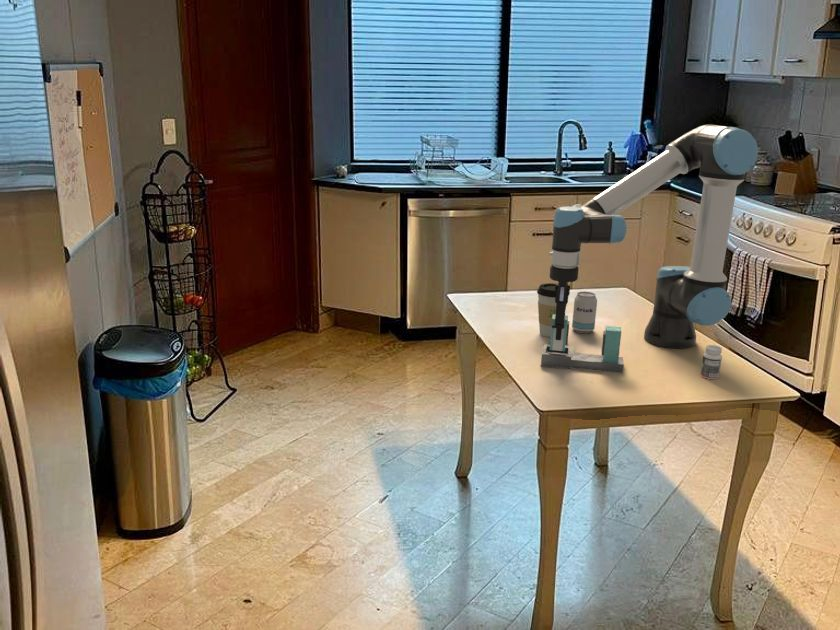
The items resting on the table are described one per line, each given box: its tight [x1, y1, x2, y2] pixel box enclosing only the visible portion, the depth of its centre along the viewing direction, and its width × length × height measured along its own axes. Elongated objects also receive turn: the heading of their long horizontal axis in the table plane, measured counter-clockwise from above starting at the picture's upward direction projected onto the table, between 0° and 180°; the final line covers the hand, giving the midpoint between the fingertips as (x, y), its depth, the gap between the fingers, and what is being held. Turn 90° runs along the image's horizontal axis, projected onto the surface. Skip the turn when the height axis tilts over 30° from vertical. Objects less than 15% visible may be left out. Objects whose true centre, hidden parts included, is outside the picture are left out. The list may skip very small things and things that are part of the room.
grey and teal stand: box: [540, 325, 625, 374], centre depth 219 cm, size 22×8×11 cm, turn 78°
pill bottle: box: [700, 344, 723, 380], centre depth 214 cm, size 5×5×8 cm
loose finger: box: [549, 314, 570, 351], centre depth 219 cm, size 5×4×9 cm
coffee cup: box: [536, 282, 570, 338], centre depth 243 cm, size 10×10×15 cm
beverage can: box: [571, 291, 598, 334], centre depth 248 cm, size 7×7×12 cm
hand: (557, 347), depth 220 cm, fingers closed on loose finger, 4 cm apart
